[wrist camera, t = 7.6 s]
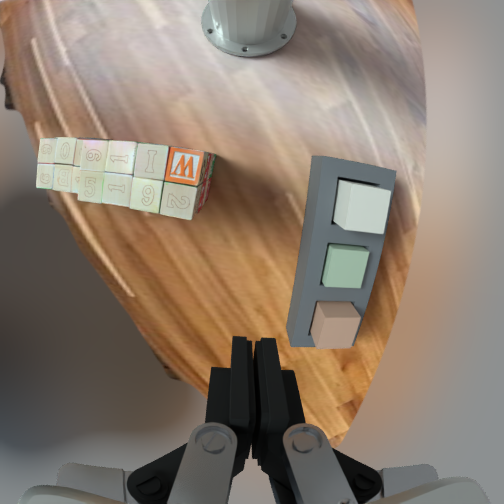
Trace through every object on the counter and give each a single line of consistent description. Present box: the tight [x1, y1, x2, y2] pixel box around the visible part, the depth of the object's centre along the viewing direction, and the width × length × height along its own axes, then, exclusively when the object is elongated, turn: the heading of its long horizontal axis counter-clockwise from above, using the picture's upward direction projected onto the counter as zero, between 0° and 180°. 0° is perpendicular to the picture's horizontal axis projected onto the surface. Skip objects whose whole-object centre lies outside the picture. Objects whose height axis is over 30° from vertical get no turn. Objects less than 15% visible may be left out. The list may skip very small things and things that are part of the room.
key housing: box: [286, 156, 396, 347], centre depth 35 cm, size 26×10×6 cm, turn 175°
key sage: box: [321, 242, 369, 288], centre depth 35 cm, size 5×5×5 cm
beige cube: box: [310, 301, 361, 349], centre depth 35 cm, size 5×5×5 cm
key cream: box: [332, 179, 391, 234], centre depth 30 cm, size 5×5×5 cm
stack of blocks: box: [36, 137, 216, 220], centre depth 27 cm, size 21×6×12 cm, turn 77°
